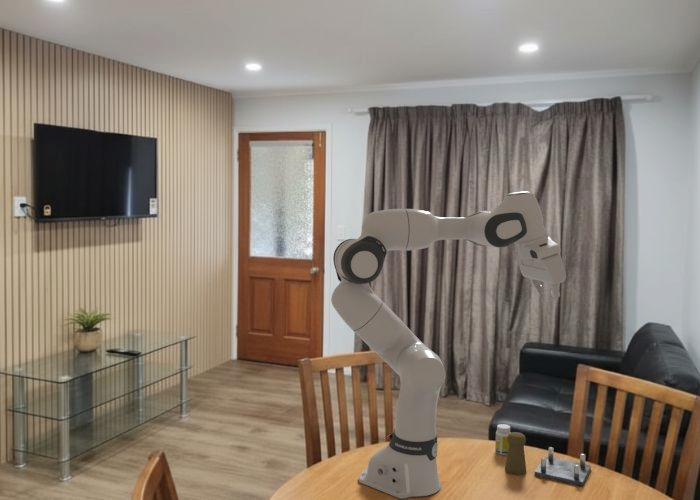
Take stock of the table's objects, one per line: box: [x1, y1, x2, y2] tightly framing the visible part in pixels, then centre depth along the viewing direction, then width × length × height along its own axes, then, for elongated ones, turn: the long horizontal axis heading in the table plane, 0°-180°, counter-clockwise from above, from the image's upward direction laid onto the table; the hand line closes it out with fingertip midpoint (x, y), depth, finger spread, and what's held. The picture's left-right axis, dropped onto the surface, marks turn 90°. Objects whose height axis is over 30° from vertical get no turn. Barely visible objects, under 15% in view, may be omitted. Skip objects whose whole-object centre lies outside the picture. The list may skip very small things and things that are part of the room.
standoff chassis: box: [533, 446, 592, 487], centre depth 177 cm, size 13×13×5 cm
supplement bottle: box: [494, 423, 512, 456], centre depth 191 cm, size 5×5×8 cm
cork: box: [504, 431, 527, 476], centre depth 178 cm, size 6×6×11 cm
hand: (548, 294), depth 171 cm, fingers open, 8 cm apart
